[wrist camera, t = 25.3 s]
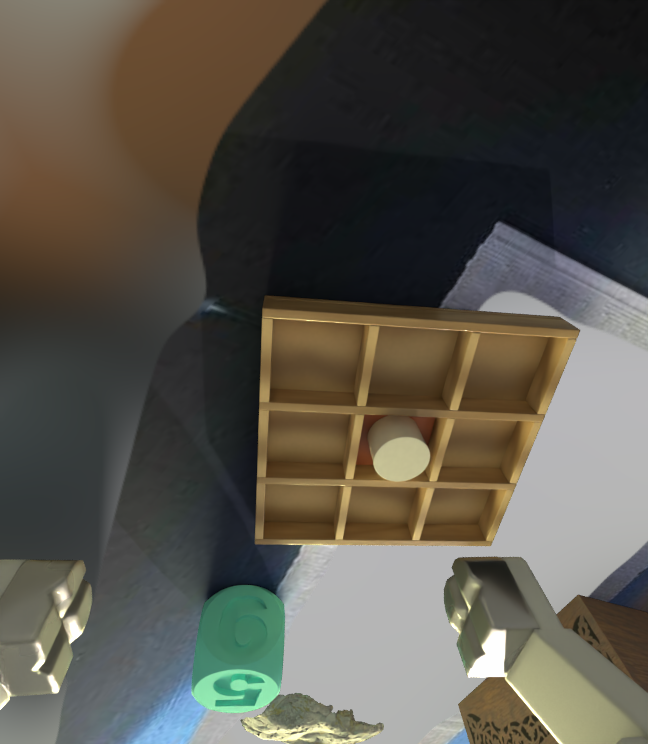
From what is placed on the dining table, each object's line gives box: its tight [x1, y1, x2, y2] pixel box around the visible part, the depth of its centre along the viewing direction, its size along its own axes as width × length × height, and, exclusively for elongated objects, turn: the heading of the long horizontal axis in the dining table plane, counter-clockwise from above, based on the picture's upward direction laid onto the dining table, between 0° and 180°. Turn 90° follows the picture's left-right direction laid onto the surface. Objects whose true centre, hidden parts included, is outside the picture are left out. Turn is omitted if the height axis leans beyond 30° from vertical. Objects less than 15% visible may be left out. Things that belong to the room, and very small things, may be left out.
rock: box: [241, 693, 384, 744], centre depth 57 cm, size 19×11×2 cm, turn 50°
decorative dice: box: [192, 585, 285, 713], centre depth 42 cm, size 8×8×8 cm
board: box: [255, 295, 580, 546], centre depth 34 cm, size 22×22×3 cm
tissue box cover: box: [458, 595, 648, 744], centre depth 51 cm, size 26×14×10 cm, turn 156°
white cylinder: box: [367, 415, 430, 482], centre depth 33 cm, size 4×4×3 cm
